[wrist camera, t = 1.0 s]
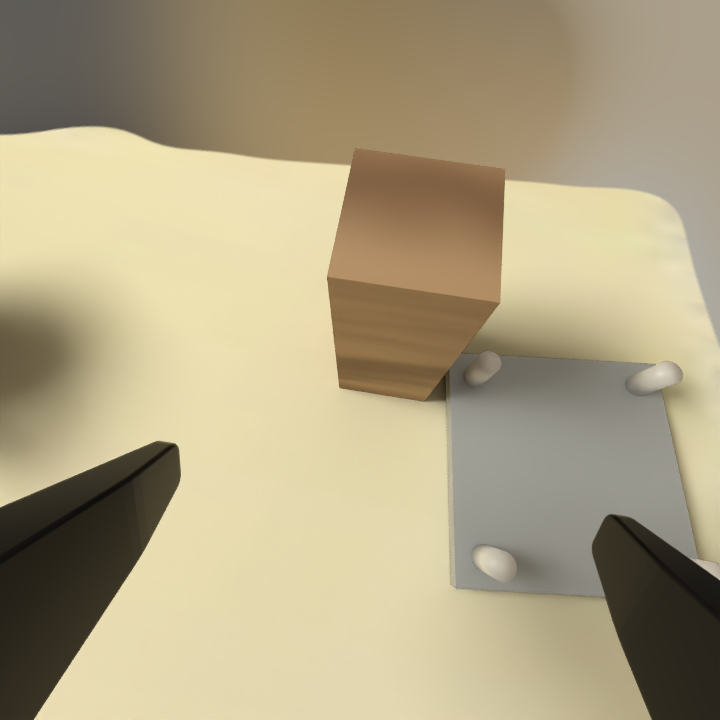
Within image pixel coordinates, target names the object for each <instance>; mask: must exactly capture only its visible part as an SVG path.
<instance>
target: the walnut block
mask: <svg viewBox="0 0 720 720" xmlns="http://www.w3.org/2000/svg"><path fill="white" fill-rule="evenodd" d="M504 187H505V169H501V168H494V167H487V166H479V165H472V164H465V163H458V162H450V161H443V160H436V159H428V158H421V157H414V156H407V155H400V154H392V153H385V152H378V151H370V150H363V149H355V151H354V155H353V160H352V164H351V169H350V174H349V178H348V183H347V187H346V192H345V197H344V201H343V206H342V210H341V215H340V220H339V224H338V229H337V233H336V238H335V243H334V247H333V252H332V256H331V261H330V265H329V270H328V275H327V281H328V290H329V299H330V308H331V316H332V325H333V334H334V343H335V352H336V361H337V370H338V379H339V388H343V389H350V390H356V391H362V392H368V393H375V394H381V395H387V396H393V397H400V398H406V399H412V400H418V401H425V400H426V398H427V397H428V396H429V395H430V393H431V392H432V391H433V389H434V388H435V387H436V385H437V384H438V383H439V382H440V380H441V379H442V378H443V376H444V375H445V374H446V372H447V371H448V370H449V369H450V367H451V366H452V365H453V363H454V362H455V361H456V359H457V358H458V357H459V356H460V354H461V353H462V352H463V350H464V349H465V348H466V346H467V345H468V344H469V343H470V341H471V340H472V339H473V337H474V336H475V335H476V333H477V332H478V331H479V329H480V328H481V327H482V326H483V324H484V323H485V322H486V320H487V319H488V318H489V316H490V315H491V314H492V313H493V311H494V310H495V309H496V307H497V306H498V305H499V303H500V292H501V266H502V239H503V213H504Z"/></svg>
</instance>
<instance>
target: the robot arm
mask: <svg viewBox="0 0 720 720" xmlns="http://www.w3.org/2000/svg"><path fill="white" fill-rule="evenodd" d="M180 478H181V469H180V456H179V448H178V446H177V445H176V444H175V443H170V442H163V441H156V442H153V443H151V444H148V445H146V446H144V447H141V448H139V449H137V450H134V451H132V452H130V453H127V454H125V455H123V456H120V457H118V458H115V459H113V460H111V461H108V462H106V463H104V464H101V465H99V466H97V467H94V468H92V469H90V470H87V471H85V472H83V473H80V474H78V475H75V476H73V477H71V478H68V479H66V480H64V481H61V482H59V483H57V484H54V485H52V486H50V487H47V488H45V489H42V490H40V491H38V492H35V493H33V494H31V495H28V496H26V497H24V498H21V499H19V500H17V501H14V502H12V503H9V504H7V505H5V506H2V507H0V720H34V718H35V717H36V715H37V714H38V712H39V711H40V709H41V708H42V706H43V705H44V703H45V702H46V700H47V699H48V697H49V696H50V694H51V693H52V691H53V689H54V688H55V686H56V685H57V683H58V682H59V680H60V679H61V677H62V676H63V674H64V673H65V671H66V670H67V668H68V667H69V665H70V664H71V662H72V661H73V659H74V657H75V656H76V654H77V653H78V651H79V650H80V648H81V647H82V645H83V644H84V642H85V641H86V639H87V638H88V636H89V635H90V633H91V632H92V630H93V629H94V627H95V625H96V624H97V622H98V621H99V619H100V618H101V616H102V615H103V613H104V612H105V610H106V609H107V607H108V606H109V604H110V603H111V601H112V600H113V598H114V597H115V595H116V593H117V592H118V590H119V589H120V587H121V586H122V584H123V583H124V581H125V580H126V578H127V577H128V575H129V574H130V572H131V571H132V569H133V568H134V566H135V565H136V563H137V561H138V560H139V558H140V557H141V555H142V553H143V552H144V550H145V548H146V546H147V544H148V543H149V541H150V539H151V537H152V535H153V533H154V531H155V529H156V527H157V525H158V523H159V522H160V520H161V518H162V516H163V514H164V512H165V510H166V508H167V506H168V504H169V502H170V501H171V499H172V497H173V495H174V493H175V491H176V489H177V487H178V485H179V482H180ZM592 555H593V559H594V562H595V565H596V569H597V572H598V575H599V578H600V582H601V585H602V588H603V591H604V594H605V598H606V601H607V604H608V607H609V611H610V614H611V617H612V620H613V623H614V626H615V629H616V632H617V635H618V638H619V640H620V643H621V646H622V648H623V651H624V653H625V656H626V658H627V660H628V663H629V665H630V668H631V670H632V673H633V675H634V678H635V680H636V682H637V685H638V687H639V690H640V692H641V695H642V697H643V700H644V702H645V704H646V707H647V709H648V712H649V714H650V717H651V719H652V720H720V580H719V579H718V578H716V577H715V576H714V575H712V574H711V573H709V572H708V571H707V570H705V569H704V568H702V567H701V566H699V565H698V564H697V563H695V562H694V561H692V560H691V559H690V558H688V557H687V556H685V555H684V554H683V553H681V552H680V551H678V550H677V549H676V548H674V547H673V546H671V545H670V544H668V543H667V542H666V541H664V540H663V539H661V538H660V537H659V536H657V535H656V534H654V533H653V532H652V531H650V530H649V529H647V528H646V527H645V526H643V525H642V524H640V523H639V522H637V521H636V520H635V519H633V518H631V517H628V516H622V515H616V514H609V515H607V516H606V517H605V518H604V520H603V522H602V524H601V526H600V528H599V530H598V532H597V534H596V536H595V538H594V540H593V542H592Z"/></svg>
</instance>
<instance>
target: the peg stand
mask: <svg viewBox="0 0 720 720" xmlns="http://www.w3.org/2000/svg"><path fill="white" fill-rule="evenodd" d="M682 378H683V373H682V370H681V369H680V367H679V366H678V365H677V364H675V363H673V362H670V361H665V362H662V363H660V364H658V365H656V364H646V363H628V362H611V361H593V360H576V359H558V358H541V357H523V356H505V355H497V354H496V353H494V352H491V351H485V352H482V353H481V354H470V353H461V354H460V356H459V357H458V358H457V359H456V361H455V362H454V363H453V365H452V366H451V367H450V369H449V370H448V371H447V372H446V413H447V455H448V498H449V540H450V582H451V585H452V586H453V587H455V588H456V589H473V590H491V591H509V592H526V593H544V594H562V595H579V596H597V597H605V594H604V591H603V588H602V585H601V582H600V578H599V575H598V572H597V569H596V565H595V562H594V559H593V555H592V542H593V540H594V538H595V536H596V534H597V532H598V530H599V528H600V526H601V524H602V522H603V520H604V518H605V517H606V516H607V515H609V514H616V515H622V516H628V517H631V518H633V519H635V520H636V521H637V522H639V523H640V524H642V525H643V526H645V527H646V528H647V529H649V530H650V531H652V532H653V533H654V534H656V535H657V536H659V537H660V538H661V539H663V540H664V541H666V542H667V543H668V544H670V545H671V546H673V547H674V548H676V549H677V550H678V551H680V552H681V553H683V554H684V555H685V556H687V557H688V558H690V559H691V560H692V561H694V562H695V563H697V564H698V565H699V566H701V567H702V568H704V569H705V570H707V571H708V572H709V573H711V574H712V575H714V576H715V577H716V578H718V579H719V580H720V564H719V563H715V562H710V561H704V560H699V559H698V554H697V550H696V545H695V541H694V536H693V532H692V527H691V523H690V518H689V513H688V509H687V504H686V500H685V495H684V491H683V486H682V482H681V477H680V473H679V468H678V464H677V459H676V455H675V450H674V446H673V441H672V437H671V432H670V428H669V423H668V418H667V414H666V409H665V405H664V400H663V396H662V391H661V389H663V388H665V387H668V386H671V385H674V384H677V383H679V382H681V380H682Z"/></svg>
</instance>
